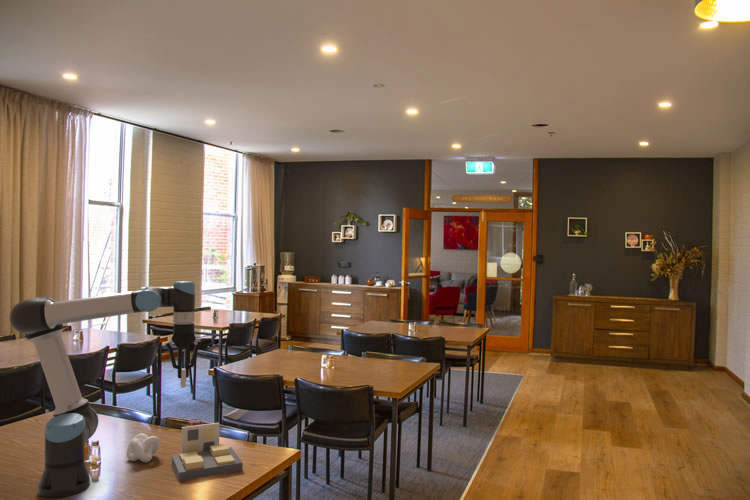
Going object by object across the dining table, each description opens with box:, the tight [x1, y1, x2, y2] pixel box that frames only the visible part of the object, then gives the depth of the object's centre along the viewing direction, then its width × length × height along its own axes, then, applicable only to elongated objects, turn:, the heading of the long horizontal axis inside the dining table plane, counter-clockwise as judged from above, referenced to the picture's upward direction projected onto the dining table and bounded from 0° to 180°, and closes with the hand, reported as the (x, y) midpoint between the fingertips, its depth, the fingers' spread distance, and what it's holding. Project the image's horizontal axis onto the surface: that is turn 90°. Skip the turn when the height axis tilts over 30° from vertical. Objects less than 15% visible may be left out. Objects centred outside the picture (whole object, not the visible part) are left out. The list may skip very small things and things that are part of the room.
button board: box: [171, 422, 244, 482], centre depth 210 cm, size 22×22×12 cm
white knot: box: [126, 432, 161, 463], centre depth 216 cm, size 11×12×9 cm
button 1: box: [179, 452, 198, 462], centre depth 210 cm, size 6×6×3 cm
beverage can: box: [186, 418, 204, 427], centre depth 226 cm, size 6×6×12 cm
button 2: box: [183, 456, 204, 470], centre depth 202 cm, size 6×6×3 cm
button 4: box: [215, 455, 235, 465], centre depth 207 cm, size 6×6×3 cm
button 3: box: [210, 443, 230, 457], centre depth 215 cm, size 6×6×3 cm
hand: (183, 386), depth 209 cm, fingers closed
